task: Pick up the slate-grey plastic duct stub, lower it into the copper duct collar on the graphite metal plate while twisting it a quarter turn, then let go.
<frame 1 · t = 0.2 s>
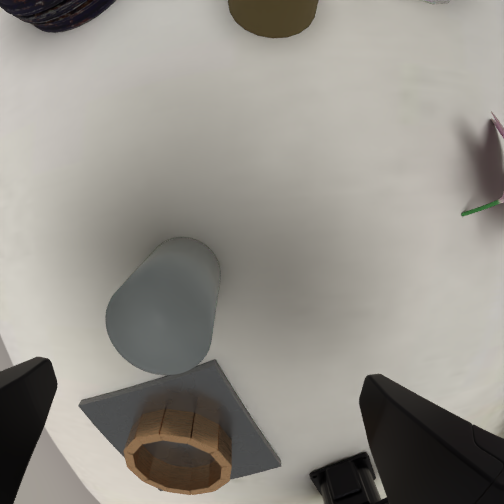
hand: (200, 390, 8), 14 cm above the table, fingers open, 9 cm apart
cork: (272, 4, 17), on the table
duct collar: (181, 438, 25), on the table
lily: (487, 181, 21), on the table
duct stub: (183, 273, 21), on the table
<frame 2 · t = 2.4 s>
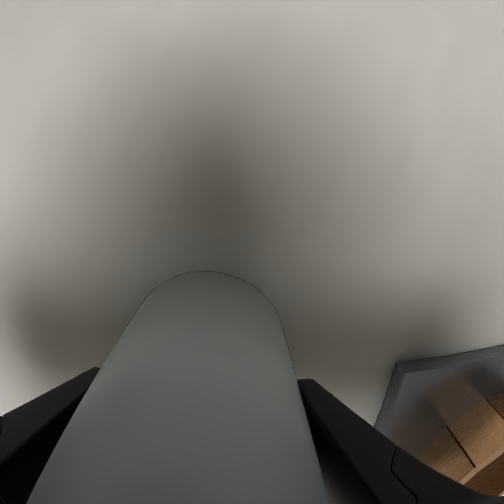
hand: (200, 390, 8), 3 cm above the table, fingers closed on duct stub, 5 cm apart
duct collar: (461, 445, 13), on the table
duct stub: (207, 343, 10), on the table, touching gripper
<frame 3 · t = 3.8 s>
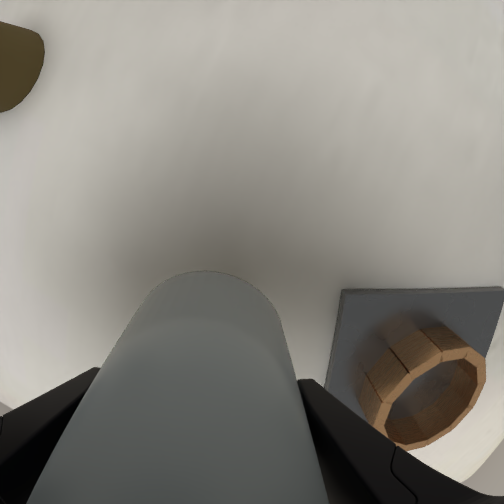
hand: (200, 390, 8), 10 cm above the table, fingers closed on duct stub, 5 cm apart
cork: (12, 70, 14), on the table
duct collar: (412, 375, 21), on the table
duct stub: (207, 343, 10), point 8 cm above the table, touching gripper
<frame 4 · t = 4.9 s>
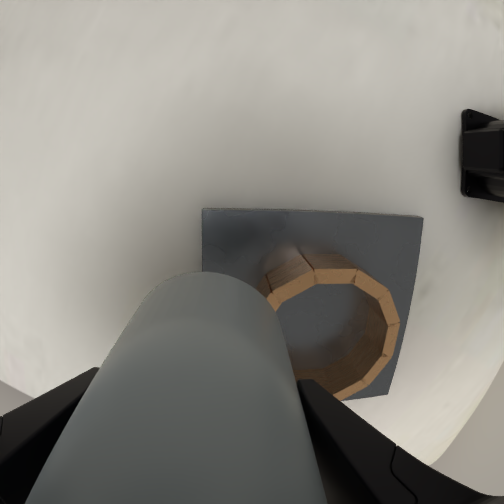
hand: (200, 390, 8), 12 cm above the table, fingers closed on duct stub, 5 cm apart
duct collar: (311, 317, 21), on the table
duct stub: (206, 343, 10), point 10 cm above the table, touching gripper
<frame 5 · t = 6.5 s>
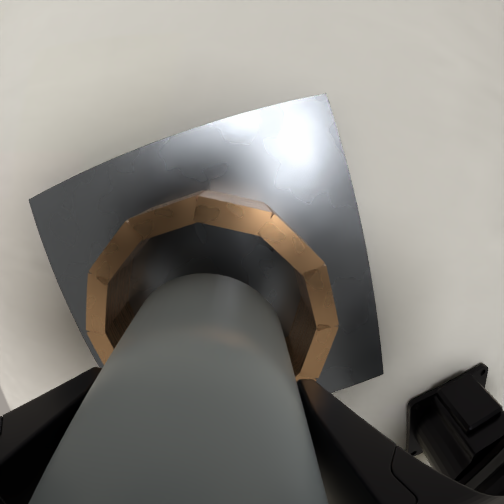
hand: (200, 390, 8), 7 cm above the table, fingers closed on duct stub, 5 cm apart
duct collar: (213, 292, 15), on the table
duct stub: (207, 345, 10), point 4 cm above the table, touching gripper
when the fingers open (5 cm above the table, at t = 7.7 s): duct stub drops 2 cm, resting on duct collar.
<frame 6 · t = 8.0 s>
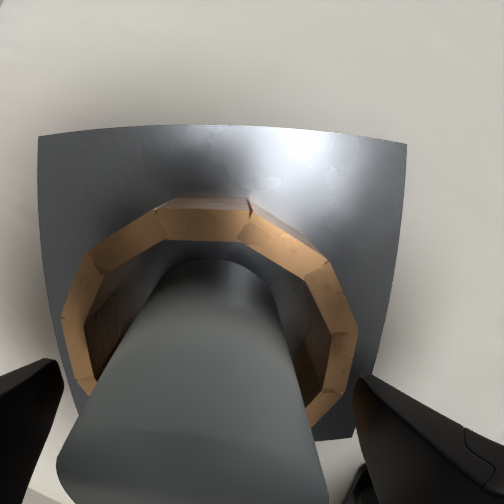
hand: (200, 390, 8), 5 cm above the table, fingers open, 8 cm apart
duct collar: (212, 311, 13), on the table
duct stub: (211, 322, 12), point 1 cm above the table, touching duct collar
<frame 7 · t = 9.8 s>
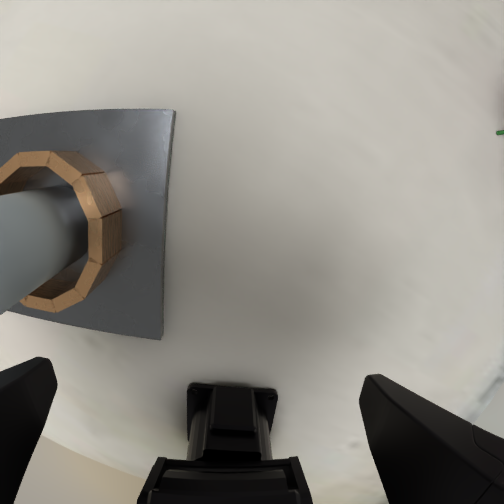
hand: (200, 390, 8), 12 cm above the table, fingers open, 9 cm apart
duct collar: (64, 221, 18), on the table
duct stub: (58, 225, 17), point 1 cm above the table, touching duct collar
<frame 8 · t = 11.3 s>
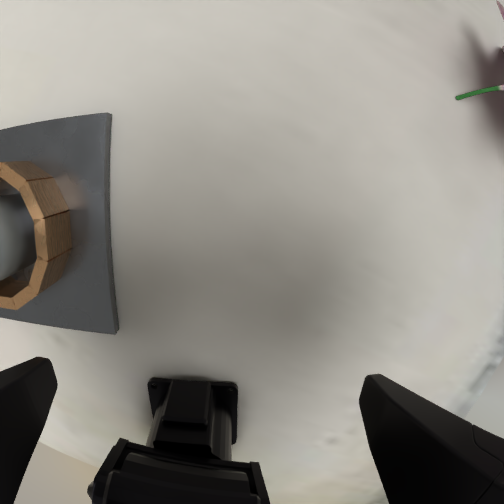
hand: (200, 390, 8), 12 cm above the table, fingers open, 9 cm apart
duct collar: (25, 226, 18), on the table
lily: (488, 93, 17), on the table
duct stub: (18, 230, 17), point 1 cm above the table, touching duct collar
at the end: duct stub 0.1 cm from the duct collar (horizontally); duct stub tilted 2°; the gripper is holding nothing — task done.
